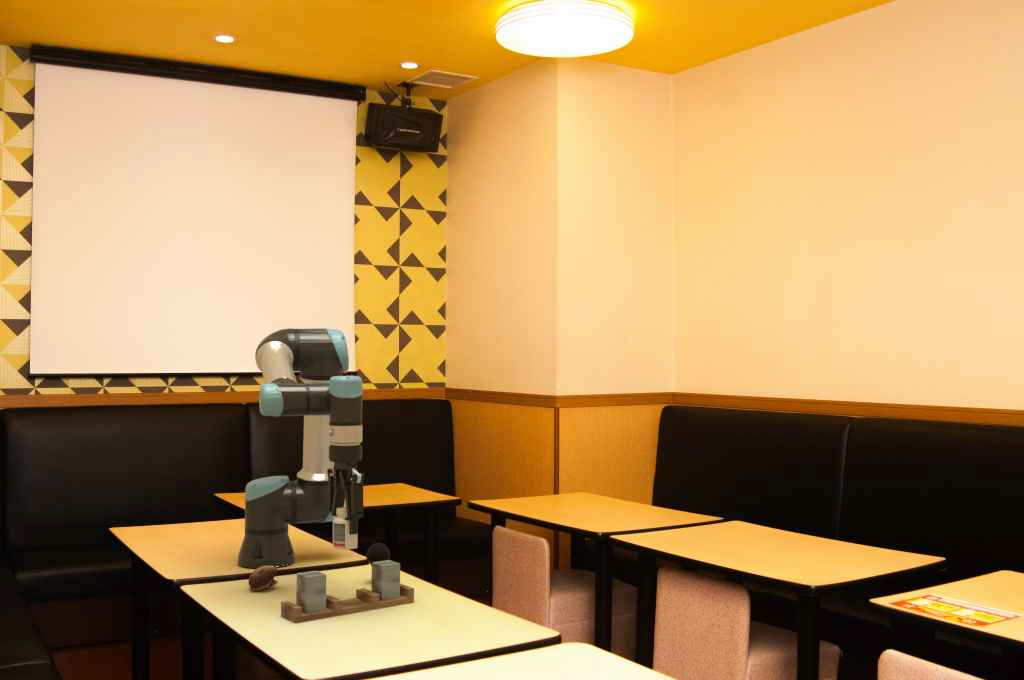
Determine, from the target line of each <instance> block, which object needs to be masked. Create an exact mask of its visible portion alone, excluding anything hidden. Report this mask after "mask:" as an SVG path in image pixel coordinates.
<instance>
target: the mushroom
mask: <svg viewBox="0 0 1024 680" xmlns="http://www.w3.org/2000/svg"><path fill="white" fill-rule="evenodd" d="M277 574H278V567H275V566H270V565H266V566H261V567H259V568H254V570H253V571H252V572H251V574H250V575H249V577H248V586H249V588H250V589H251V590H252V591H254V592H258V591H261V590H262V589H267V590H269V589H271V588H273V587H274V586H276V585H277V584H278V582H279V581H278V580H276V579H275V577H276V575H277Z"/></svg>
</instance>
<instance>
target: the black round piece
mask: <svg viewBox="0 0 1024 680" xmlns="http://www.w3.org/2000/svg"><path fill="white" fill-rule="evenodd" d="M390 557H391V552H390V549H389V547H388V546H387V545H386V544H385V543H382V542H377V543H372V544H371V545H370V546H369V547H368V549H367V551H366V560H367V562H368V563H369V564H370V566H371V568H372V562H379V561H386V560H390Z"/></svg>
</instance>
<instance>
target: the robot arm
mask: <svg viewBox="0 0 1024 680" xmlns="http://www.w3.org/2000/svg"><path fill="white" fill-rule="evenodd" d="M254 357H255V358H254V359H255V360H254V361H255V364H256V366H257V368H258V370H259V371H260V372H261V374H262V377H263V381H264V383H263V384H261V386H260V388H259V394H258V395H259V396H258V397H259V398H258V399H259V400H258V401H259V402H258V403H259V405H258V406H259V412H260V414H261V415H262V416H265V417H299V416H303V445H302V446H303V447H302V453H303V454H302V468H301V469H300V470H299V471H298V472H297V474H296V480H290V478H289V476H288V475H273V476H266V477H260V478H256V479H254V480H251V481H249V482H248V483H247V484H246V485H245V491H244V492H245V494H244V502H245V503H244V537H243V540H242V543H241V545H240V548H239V552H238V555H237V565H238V566H239V565H240V567H242V566H244V567H243V568H246V567H251V568H250V569H257V568H259V567H261V566H266V565H270V566H275V567H276V566H283V565H287V564H290V563H293V562H294V561H295V559H296V558H295V556H296V555H295V551H294V548H293V544H292V542H291V539H290V535H289V524H310V523H321V524H322V523H326V522H327V523H328V522H332V541H333V540H334V519H335V518H337V517H338V515H337V514H336V510H337V508H340V507H346V510H347V518H344V519H345V549H344V550H351V549H352V550H354V549H358V538H359V537H358V535H359V533H358V528H359V527H358V524H359V523H358V521H359V519H360V518H364V481H365V474H364V473H361V472H360V473H359V469H358V464H357V463H358V462H361V461H362V460H363V445H362V444H361V443H362V442H363V397H364V395H363V393H364V389H363V379H362V377H361V376H359V375H343V373H347V372H348V371H349V368H350V367H349V366H350V365H349V363H350V361H349V360H350V357H349V350H348V344H347V340H346V336H345V334H344V332H343V331H342V330H341V329H337V328H336V329H335V328H334V329H333V328H326V327H325V328H292V327H291V328H283V329H279V330H276V331H274V332H271V333H270V334H268V335H267V336H265V337H264V338H263V339H262V340H261V341H260V343H259V344H258V346H257V348H256V350H255V356H254ZM295 372H298V373H299V375H298V376H299V379H300V380H301V382H303V383H298V381H297V379H296V375H295ZM294 563H295V562H294ZM294 563H293V564H294ZM290 565H291V564H290ZM287 566H288V565H287ZM283 567H284V566H283ZM276 568H277V567H276Z"/></svg>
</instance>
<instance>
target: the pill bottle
mask: <svg viewBox="0 0 1024 680" xmlns="http://www.w3.org/2000/svg"><path fill="white" fill-rule="evenodd" d="M336 514H337V515H338V517H337V518H335V519H334V540H333V539H332V545H333V549H335V550H346V549H345V519H344V518H347V510H346V506H344V507H340V508H337V510H336Z"/></svg>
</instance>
